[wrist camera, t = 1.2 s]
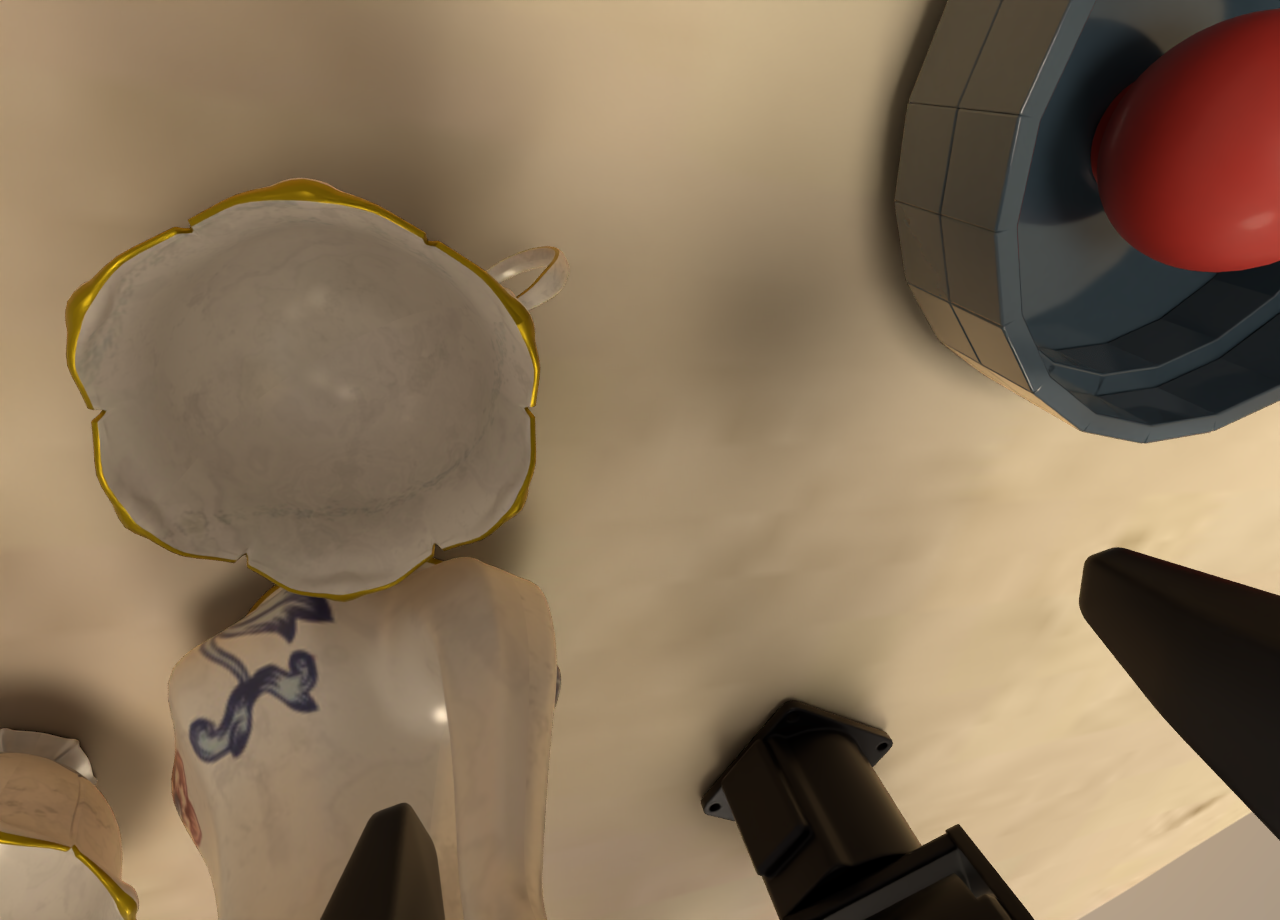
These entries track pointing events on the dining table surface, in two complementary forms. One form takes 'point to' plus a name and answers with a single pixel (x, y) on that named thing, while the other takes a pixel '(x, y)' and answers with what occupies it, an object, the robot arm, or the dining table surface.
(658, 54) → the dining table surface
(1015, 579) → the dining table surface
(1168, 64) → the apple
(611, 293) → the dining table surface
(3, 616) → the dining table surface
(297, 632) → the chinaware
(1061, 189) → the bowl
